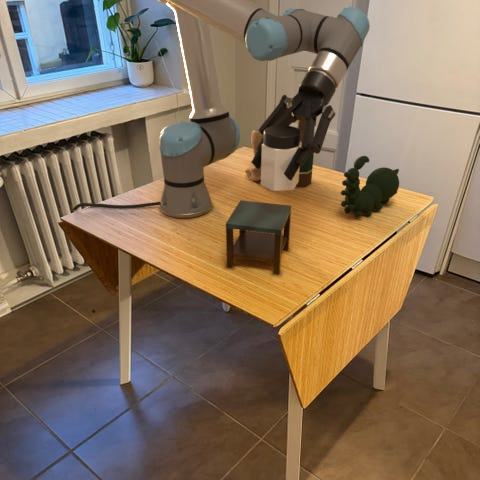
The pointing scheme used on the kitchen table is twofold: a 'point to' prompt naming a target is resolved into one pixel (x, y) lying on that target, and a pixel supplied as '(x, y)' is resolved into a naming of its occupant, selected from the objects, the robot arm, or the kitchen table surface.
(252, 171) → the tan piece
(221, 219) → the kitchen table surface
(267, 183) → the jar
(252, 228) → the stand
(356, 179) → the toy figurine
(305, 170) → the beer bottle
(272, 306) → the kitchen table surface
